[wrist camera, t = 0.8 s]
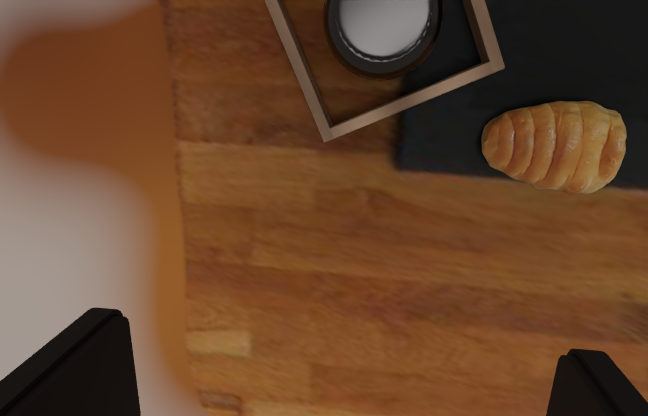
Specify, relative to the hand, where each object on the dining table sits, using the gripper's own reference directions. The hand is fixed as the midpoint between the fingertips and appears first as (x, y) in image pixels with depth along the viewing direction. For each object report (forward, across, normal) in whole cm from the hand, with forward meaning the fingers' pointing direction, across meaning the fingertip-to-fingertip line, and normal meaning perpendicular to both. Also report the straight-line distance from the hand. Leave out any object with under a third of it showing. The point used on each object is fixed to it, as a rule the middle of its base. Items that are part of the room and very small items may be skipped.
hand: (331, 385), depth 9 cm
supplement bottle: (+27, -1, -10) cm, 29 cm away
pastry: (+27, -14, -2) cm, 31 cm away
